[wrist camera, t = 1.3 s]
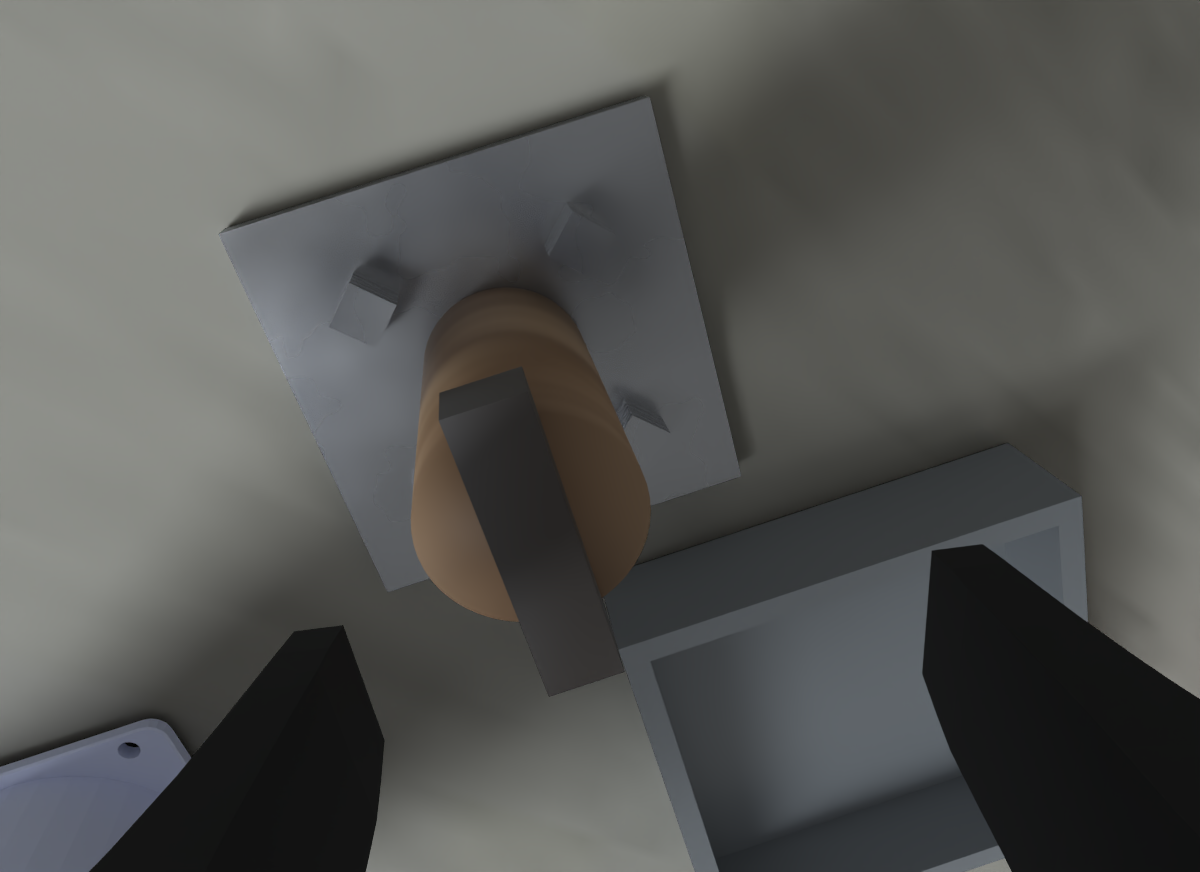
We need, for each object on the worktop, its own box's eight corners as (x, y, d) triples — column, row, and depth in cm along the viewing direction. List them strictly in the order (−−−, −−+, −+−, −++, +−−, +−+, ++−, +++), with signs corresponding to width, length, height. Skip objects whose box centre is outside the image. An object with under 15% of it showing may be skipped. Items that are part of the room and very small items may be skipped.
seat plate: (389, 578, 22) (385, 616, 21) (225, 228, 18) (206, 244, 17) (734, 465, 22) (754, 495, 21) (644, 95, 18) (660, 100, 17)
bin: (696, 864, 28) (723, 953, 25) (598, 577, 23) (618, 649, 20) (1035, 750, 28) (1098, 826, 25) (1008, 442, 23) (1081, 496, 21)
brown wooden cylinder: (465, 484, 21) (473, 721, 14) (388, 291, 19) (349, 449, 11) (612, 436, 21) (699, 646, 14) (551, 238, 19) (616, 363, 12)
